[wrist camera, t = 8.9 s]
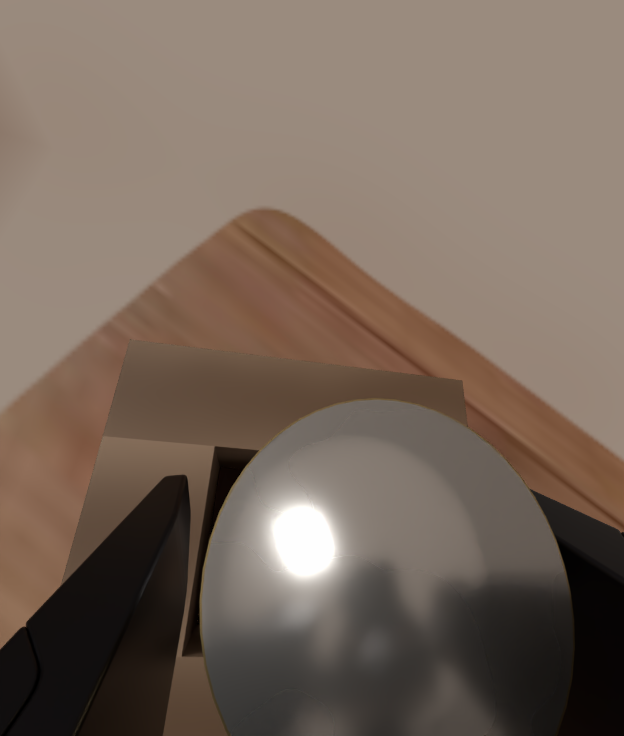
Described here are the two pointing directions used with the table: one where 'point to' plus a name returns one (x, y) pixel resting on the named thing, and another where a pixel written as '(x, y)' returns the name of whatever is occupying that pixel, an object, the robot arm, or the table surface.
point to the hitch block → (213, 457)
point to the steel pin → (385, 585)
